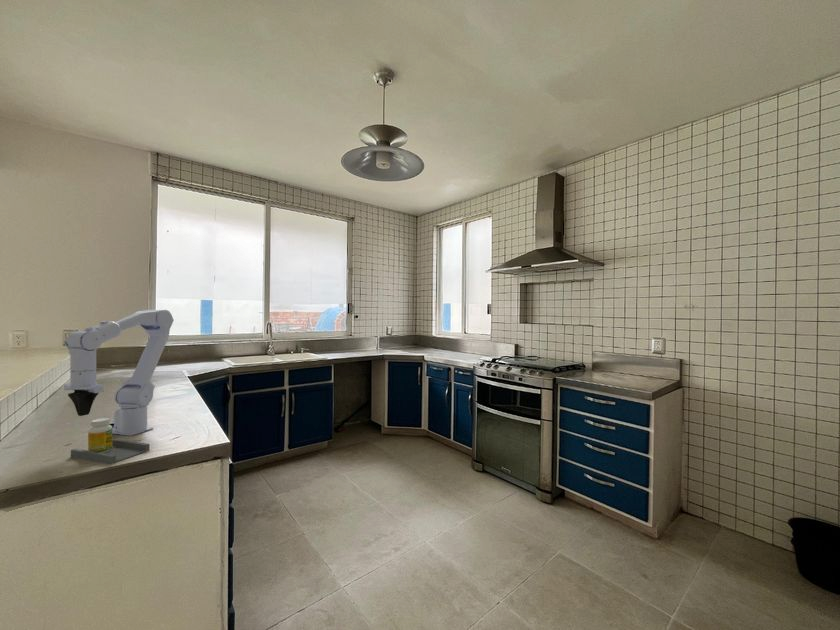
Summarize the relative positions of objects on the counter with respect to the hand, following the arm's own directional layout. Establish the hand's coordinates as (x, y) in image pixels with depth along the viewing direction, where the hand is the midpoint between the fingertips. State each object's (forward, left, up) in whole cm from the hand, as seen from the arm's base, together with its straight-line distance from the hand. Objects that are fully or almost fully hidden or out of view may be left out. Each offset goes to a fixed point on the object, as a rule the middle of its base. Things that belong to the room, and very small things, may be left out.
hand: (83, 414), depth 106 cm
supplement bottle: (+8, 0, -11) cm, 13 cm away
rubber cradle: (+12, 0, -10) cm, 16 cm away
